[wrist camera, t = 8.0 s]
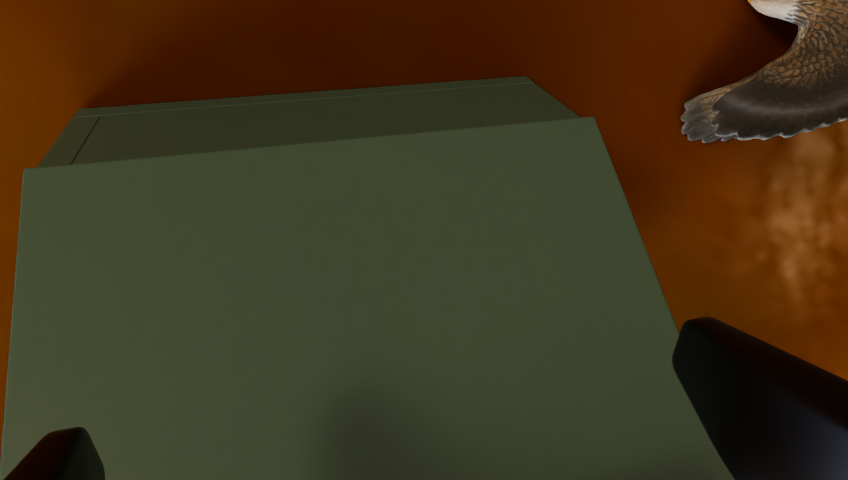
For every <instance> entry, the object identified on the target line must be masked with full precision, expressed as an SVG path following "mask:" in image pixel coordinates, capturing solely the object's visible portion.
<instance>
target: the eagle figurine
mask: <svg viewBox="0 0 848 480" xmlns="http://www.w3.org/2000/svg"><path fill="white" fill-rule="evenodd" d="M747 1H748V2H749V3H750V4H751V5H752V6H753V8H754V9H755V10H757V11H758V12H760V13H761V14H764V15H766V16H770V17H774V18H778V19H782V20H785V21H789V22H791V23H794V24H797V25H798V33H797V35H796V38H795V40H794V42H793V44H792V45H791V47H790V48H789V49H788V50H787V51H786V52H785V54H784V55H782V56H781V57H779V58H777V59H776V60H774V61H772V62H770V63H768V64H767V65H765V66H764V67H763V68H762V69H760V70H758V71H756V72H755V73H753V74H752V75H750V76H747V77H745V78H744V79H742V80H740V81H739V82H737V83H733V84H730V85H727V86H724V87H721V88H718V89H715V90H713V91H710V92H707V93H704V94H701V95H698V96H697V97H695V98H693V99H690V100H688V101H687V102H685V104H684V106H685V109H686V111H685V112H684V113H683V114H682V115H681V120H682V121H683V122H685V123H684V125H683V126H682V128H681V133H682V134H687V139H688V140H690V141H695V140H698V139H702V143H710V142H713V141H716V140H717V139H719V138H721V141H728V140H730V139H732V138H735V139H739V140H750V139H753V138H758V139H761V140H767V139H771V138H773V137H775V136H778V135H779V136H782V137H784V138H788V137H793V136H794V135H796V134H798V133H800V132H802V131H803V132H811V131H814V130H815V129H817V128H820V127H827V126H831V125H832V124H834V123H836V122H838V121H845V120H847V119H848V0H747Z"/></svg>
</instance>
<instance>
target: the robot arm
mask: <svg viewBox="0 0 848 480" xmlns="http://www.w3.org/2000/svg"><path fill="white" fill-rule="evenodd" d="M672 365H673V368H674V371H675V373H676V375H677V377H678V379H679V381H680V383H681V385H682V386H683V388H684V390H685V392H686V394H687V396H688V398H689V400H690V402H691V404H692V406H693V408H694V409H695V411H696V413H697V415H698V417H699V419H700V421H701V423H702V425H703V427H704V429H705V431H706V432H707V434H708V436H709V438H710V440H711V442H712V444H713V445H714V447H715V449H716V451H717V453H718V454H719V456H720V457H721V459H722V461H723V462H724V464H725V466H726V467H727V469H728V470H729V472H730V473H731V475H732V476H733V478H734V479H735V480H848V381H847V380H845V379H843V378H840V377H838V376H836V375H834V374H832V373H830V372H828V371H826V370H823V369H821V368H819V367H817V366H815V365H813V364H811V363H809V362H806V361H804V360H802V359H800V358H798V357H796V356H794V355H791V354H789V353H787V352H785V351H783V350H781V349H779V348H777V347H774V346H772V345H770V344H768V343H766V342H764V341H762V340H760V339H757V338H755V337H753V336H751V335H749V334H747V333H745V332H742V331H740V330H738V329H736V328H734V327H732V326H730V325H728V324H725V323H723V322H721V321H719V320H717V319H715V318H712V317H702V318H696V319H691V320H688V321H686V322H685V323H684V324H683V326H682V328H681V331H680V334H679V337H678V340H677V343H676V346H675V349H674V352H673V355H672ZM4 480H105V470H104V466H103V463H102V461H101V459H100V456H99V454H98V452H97V450H96V448H95V446H94V444H93V442H92V439H91V437H90V435H89V433H88V432H87V430H86V429H85V428H83V427H74V428H68V429H62V430H56V431H52V432H50V433H48V434H46V435H45V436H44V437H43V438H42V439H41V440H40V441H39V442H38V443H37V444H36V445H35V446H34V447H33V448H32V449H31V450H30V452H29V453H28V454H27V455H26V456H25V457H24V458H23V459H22V460H21V461H20V462H19V463H18V464H17V466H16V467H15V468H14V469H13V470H12V471H11V472H10V473H9V474H8V475H7V476H6V477H5V478H4Z"/></svg>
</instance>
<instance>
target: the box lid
mask: <svg viewBox="0 0 848 480" xmlns="http://www.w3.org/2000/svg"><path fill="white" fill-rule="evenodd" d="M678 337H679V332H678V330H677V327H676V324H675V322H674V319H673V317H672V314H671V312H670V309H669V307H668V304H667V301H666V299H665V296H664V294H663V291H662V289H661V286H660V284H659V281H658V278H657V276H656V273H655V271H654V268H653V266H652V263H651V261H650V258H649V255H648V253H647V250H646V248H645V245H644V243H643V240H642V238H641V235H640V232H639V230H638V227H637V225H636V222H635V220H634V217H633V215H632V212H631V210H630V207H629V204H628V202H627V199H626V197H625V194H624V192H623V189H622V187H621V184H620V181H619V179H618V176H617V174H616V171H615V169H614V166H613V164H612V161H611V158H610V156H609V153H608V151H607V148H606V146H605V143H604V141H603V138H602V135H601V133H600V130H599V128H598V125H597V123H596V120H595V118H594V117H581V118H570V119H559V120H548V121H537V122H526V123H515V124H505V125H494V126H483V127H472V128H461V129H450V130H439V131H428V132H418V133H407V134H396V135H385V136H374V137H363V138H352V139H341V140H331V141H320V142H309V143H298V144H287V145H276V146H265V147H254V148H243V149H233V150H222V151H211V152H200V153H189V154H178V155H167V156H156V157H146V158H135V159H124V160H113V161H102V162H91V163H80V164H69V165H59V166H48V167H37V168H26V169H24V171H23V182H22V195H21V208H20V220H19V233H18V246H17V258H16V271H15V284H14V296H13V309H12V322H11V334H10V347H9V360H8V372H7V385H6V398H5V410H4V423H3V436H2V449H1V461H0V480H4V478H5V477H6V476H7V475H8V474H9V473H10V472H11V471H12V470H13V469H14V468H15V467H16V466H17V464H18V463H19V462H20V461H21V460H22V459H23V458H24V457H25V456H26V455H27V454H28V453H29V452H30V450H31V449H32V448H33V447H34V446H35V445H36V444H37V443H38V442H39V441H40V440H41V439H42V438H43V437H44V436H45V435H46V434H48V433H50V432H52V431H56V430H62V429H68V428H74V427H83V428H85V429H86V430H87V432H88V433H89V435H90V437H91V439H92V442H93V444H94V446H95V448H96V450H97V452H98V454H99V456H100V459H101V461H102V463H103V466H104V470H105V480H735V479H734V478H733V476H732V475H731V473H730V472H729V470H728V469H727V467H726V466H725V464H724V462H723V461H722V459H721V457H720V456H719V454H718V453H717V451H716V449H715V447H714V445H713V444H712V442H711V440H710V438H709V436H708V434H707V432H706V431H705V429H704V427H703V425H702V423H701V421H700V419H699V417H698V415H697V413H696V411H695V409H694V408H693V406H692V404H691V402H690V400H689V398H688V396H687V394H686V392H685V390H684V388H683V386H682V385H681V383H680V381H679V379H678V377H677V375H676V373H675V371H674V368H673V365H672V355H673V352H674V349H675V346H676V343H677V340H678Z"/></svg>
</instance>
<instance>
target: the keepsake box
mask: <svg viewBox="0 0 848 480" xmlns="http://www.w3.org/2000/svg"><path fill="white" fill-rule="evenodd" d="M570 118H581V117H580V116H578V115H577V114H576V113H574V112H573V111H572V110H570V109H569V108H568V107H566V106H565V105H563V104H562V103H561V102H559V101H558V100H557V99H555V98H554V97H553V96H551V95H550V94H549V93H547V92H546V91H545V90H543V89H542V88H541V87H539V86H538V85H537V84H535V83H534V82H533V81H532V80H530V79H529V78H528V77H526V76H521V77H507V78H493V79H480V80H466V81H453V82H439V83H425V84H412V85H398V86H385V87H371V88H357V89H344V90H330V91H317V92H303V93H289V94H276V95H262V96H249V97H235V98H221V99H208V100H194V101H180V102H167V103H153V104H140V105H126V106H112V107H99V108H85V109H79V110H78V111H77V112H76V114H75V115H74V117H73V118H72V119H71V120H70V122H69V123H68V125H67V126H66V127H65V129H64V130H63V131H62V133H61V134H60V136H59V137H58V138H57V140H56V141H55V143H54V144H53V145H52V147H51V148H50V149H49V151H48V152H47V154H46V155H45V156H44V158H43V159H42V161H41V162H40V163H39V165H38V166H37V167H48V166H59V165H69V164H80V163H91V162H102V161H113V160H124V159H135V158H146V157H156V156H167V155H178V154H189V153H200V152H211V151H222V150H233V149H243V148H254V147H265V146H276V145H287V144H298V143H309V142H320V141H331V140H341V139H352V138H363V137H374V136H385V135H396V134H407V133H418V132H428V131H439V130H450V129H461V128H472V127H483V126H494V125H505V124H515V123H526V122H537V121H548V120H559V119H570Z"/></svg>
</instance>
